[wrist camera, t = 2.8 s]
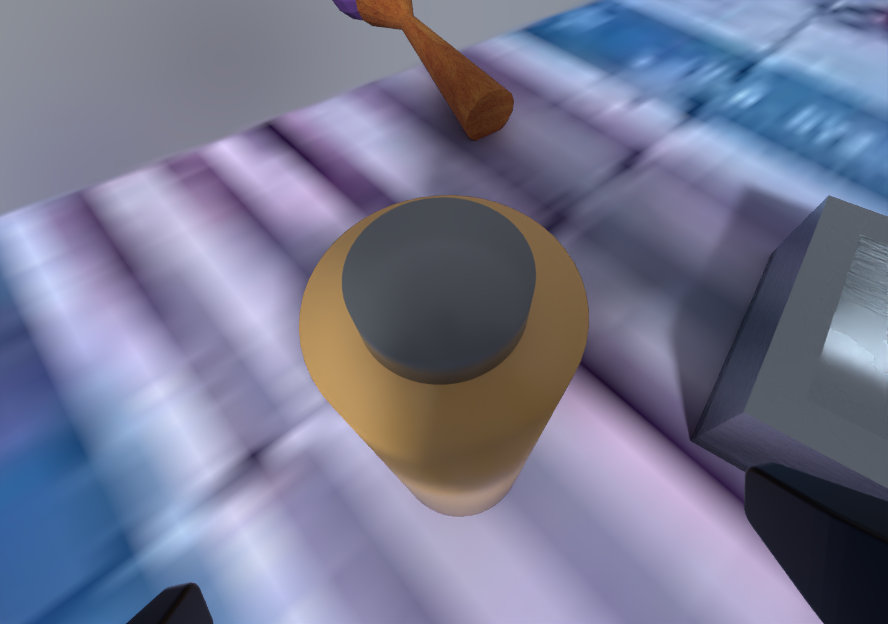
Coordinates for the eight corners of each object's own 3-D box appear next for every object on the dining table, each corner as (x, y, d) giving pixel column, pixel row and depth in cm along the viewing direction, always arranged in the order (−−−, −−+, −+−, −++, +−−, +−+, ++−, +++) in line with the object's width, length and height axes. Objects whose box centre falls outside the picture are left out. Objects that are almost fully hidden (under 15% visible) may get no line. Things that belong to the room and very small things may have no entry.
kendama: (436, 103, 23) (292, -73, 31) (454, 174, 29) (328, 10, 36) (533, 44, 23) (365, -117, 31) (532, 126, 29) (391, -28, 36)
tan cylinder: (543, 432, 18) (658, 230, 7) (477, 545, 17) (490, 516, 5) (444, 370, 20) (406, 121, 9) (373, 466, 18) (209, 312, 7)
